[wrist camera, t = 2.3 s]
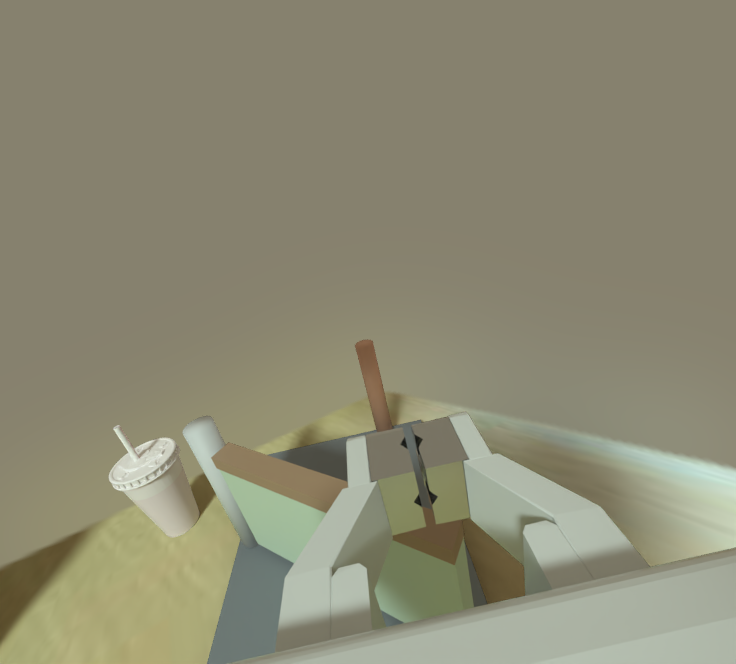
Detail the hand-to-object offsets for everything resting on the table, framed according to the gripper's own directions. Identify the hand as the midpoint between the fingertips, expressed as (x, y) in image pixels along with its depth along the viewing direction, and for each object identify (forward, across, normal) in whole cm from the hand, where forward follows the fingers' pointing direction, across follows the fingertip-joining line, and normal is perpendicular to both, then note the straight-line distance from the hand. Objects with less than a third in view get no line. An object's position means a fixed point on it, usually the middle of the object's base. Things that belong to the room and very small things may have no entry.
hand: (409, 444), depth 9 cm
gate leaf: (+11, +6, +22) cm, 25 cm away
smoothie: (+22, +26, +24) cm, 42 cm away
